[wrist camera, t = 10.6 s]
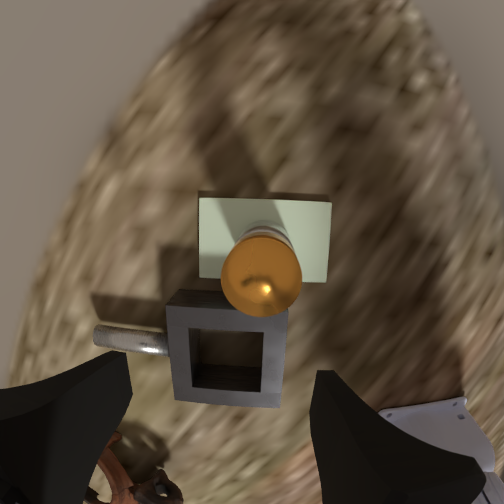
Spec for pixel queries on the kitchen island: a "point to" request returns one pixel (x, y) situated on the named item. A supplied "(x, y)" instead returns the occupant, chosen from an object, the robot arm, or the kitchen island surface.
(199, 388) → the grey square with handle
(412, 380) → the kitchen island surface
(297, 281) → the metal cylinder
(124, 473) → the brown looped band
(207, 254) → the mat
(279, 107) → the kitchen island surface
